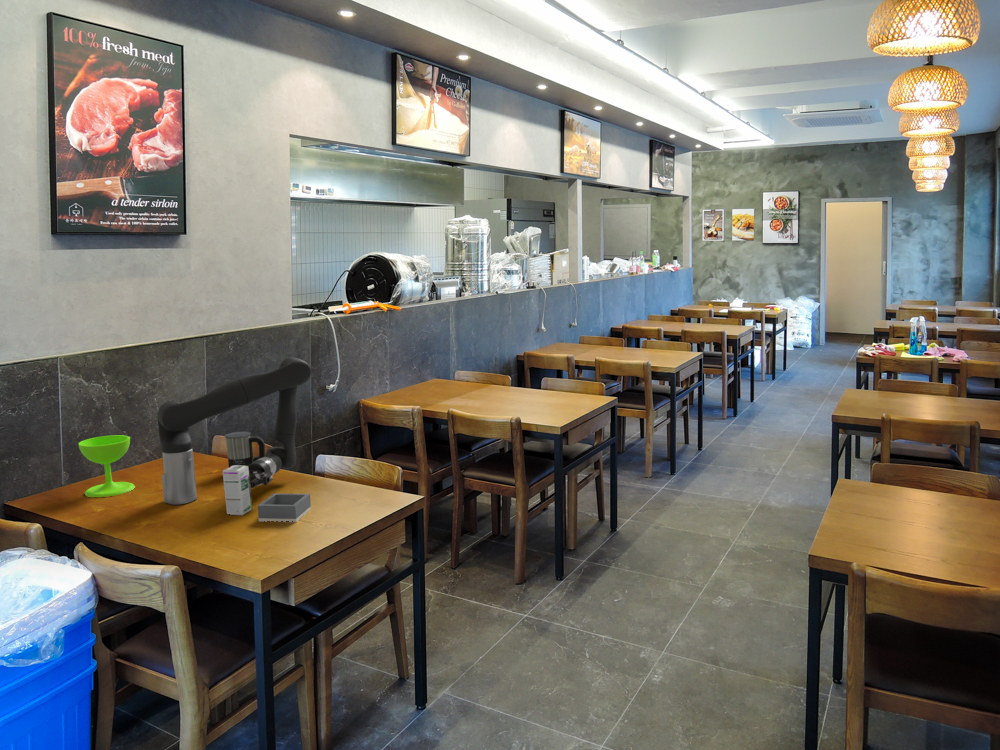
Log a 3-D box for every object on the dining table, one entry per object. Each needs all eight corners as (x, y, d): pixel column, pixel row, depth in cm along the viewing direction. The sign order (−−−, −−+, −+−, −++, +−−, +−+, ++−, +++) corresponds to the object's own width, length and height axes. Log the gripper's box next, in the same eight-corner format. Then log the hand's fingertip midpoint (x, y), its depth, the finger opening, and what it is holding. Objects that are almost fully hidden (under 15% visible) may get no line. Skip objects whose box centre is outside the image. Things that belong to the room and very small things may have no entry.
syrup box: (243, 515, 236) (239, 470, 234) (226, 514, 237) (222, 469, 235) (252, 509, 241) (249, 465, 239) (235, 508, 243) (232, 464, 240)
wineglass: (143, 483, 273) (138, 434, 271) (122, 497, 258) (117, 445, 255) (98, 484, 273) (92, 436, 270) (74, 498, 257) (68, 447, 254)
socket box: (258, 521, 230) (257, 505, 229) (275, 508, 242) (274, 493, 241) (296, 522, 229) (295, 506, 228) (311, 509, 240) (310, 493, 240)
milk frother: (230, 477, 278) (226, 438, 276) (222, 467, 292) (219, 430, 289) (269, 471, 285) (266, 433, 282) (261, 462, 298) (258, 425, 296)
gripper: (239, 459, 255) (216, 473, 239) (280, 459, 253) (259, 473, 237) (241, 481, 256) (218, 496, 240) (281, 481, 254) (261, 496, 238)
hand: (238, 485), depth 239 cm, fingers open, 8 cm apart
